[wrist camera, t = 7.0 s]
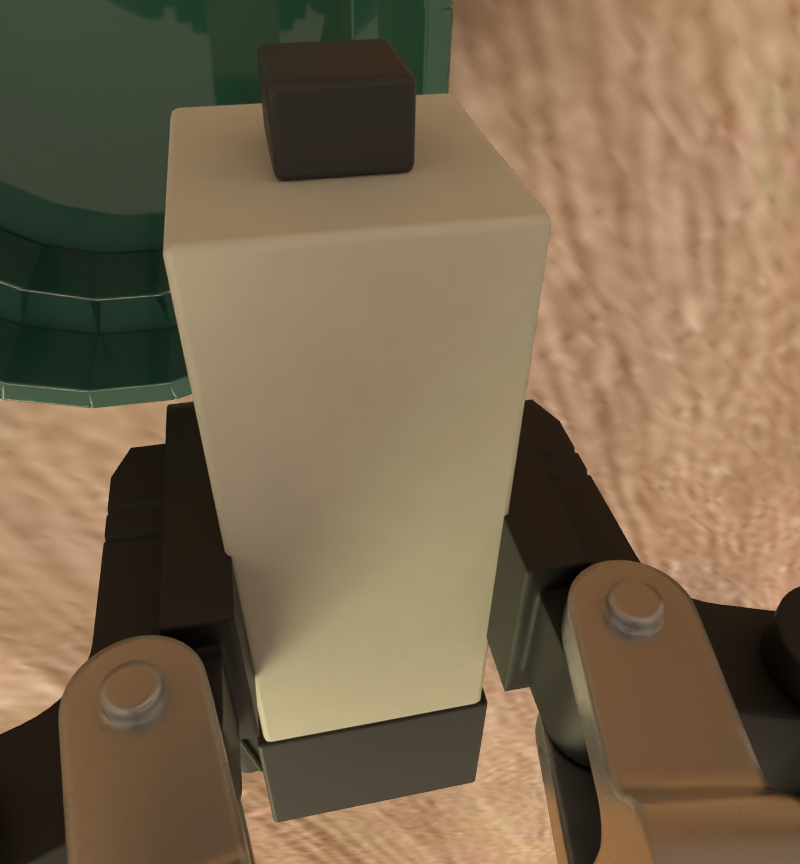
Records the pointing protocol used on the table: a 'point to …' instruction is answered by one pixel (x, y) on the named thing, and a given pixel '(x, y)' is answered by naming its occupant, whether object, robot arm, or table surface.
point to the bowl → (132, 168)
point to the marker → (356, 404)
